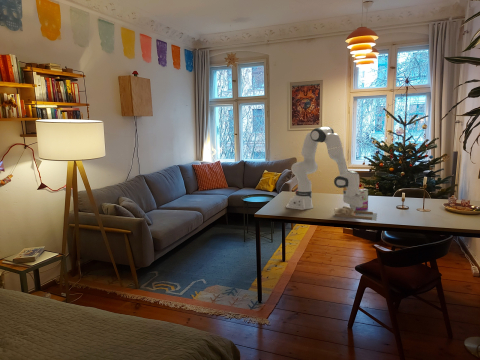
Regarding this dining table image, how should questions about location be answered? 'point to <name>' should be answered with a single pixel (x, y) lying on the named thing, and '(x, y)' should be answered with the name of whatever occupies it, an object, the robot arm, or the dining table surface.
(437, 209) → the dining table surface
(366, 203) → the candy bar box
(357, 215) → the mat
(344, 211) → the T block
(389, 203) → the dining table surface
